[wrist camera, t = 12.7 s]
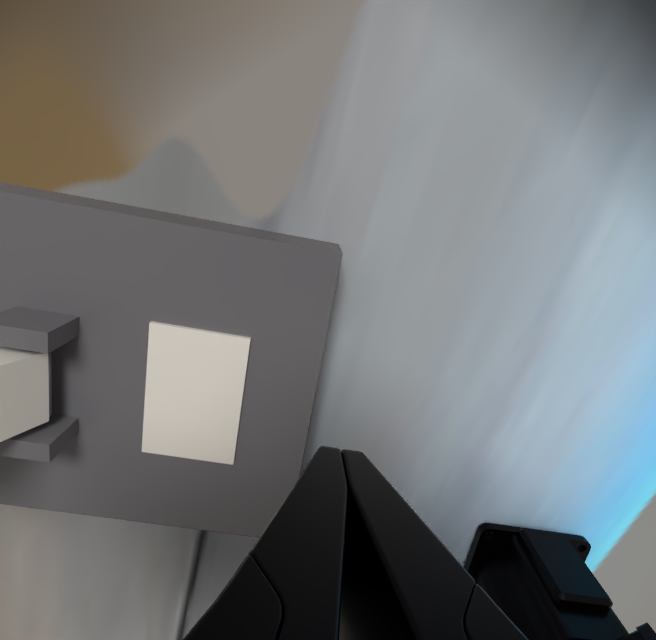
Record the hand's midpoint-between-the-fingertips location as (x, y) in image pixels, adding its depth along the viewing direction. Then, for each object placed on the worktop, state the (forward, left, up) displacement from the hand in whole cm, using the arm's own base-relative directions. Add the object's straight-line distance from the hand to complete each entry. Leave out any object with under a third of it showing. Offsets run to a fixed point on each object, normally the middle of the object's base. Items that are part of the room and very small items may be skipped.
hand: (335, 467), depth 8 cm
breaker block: (-4, +11, -12) cm, 17 cm away
